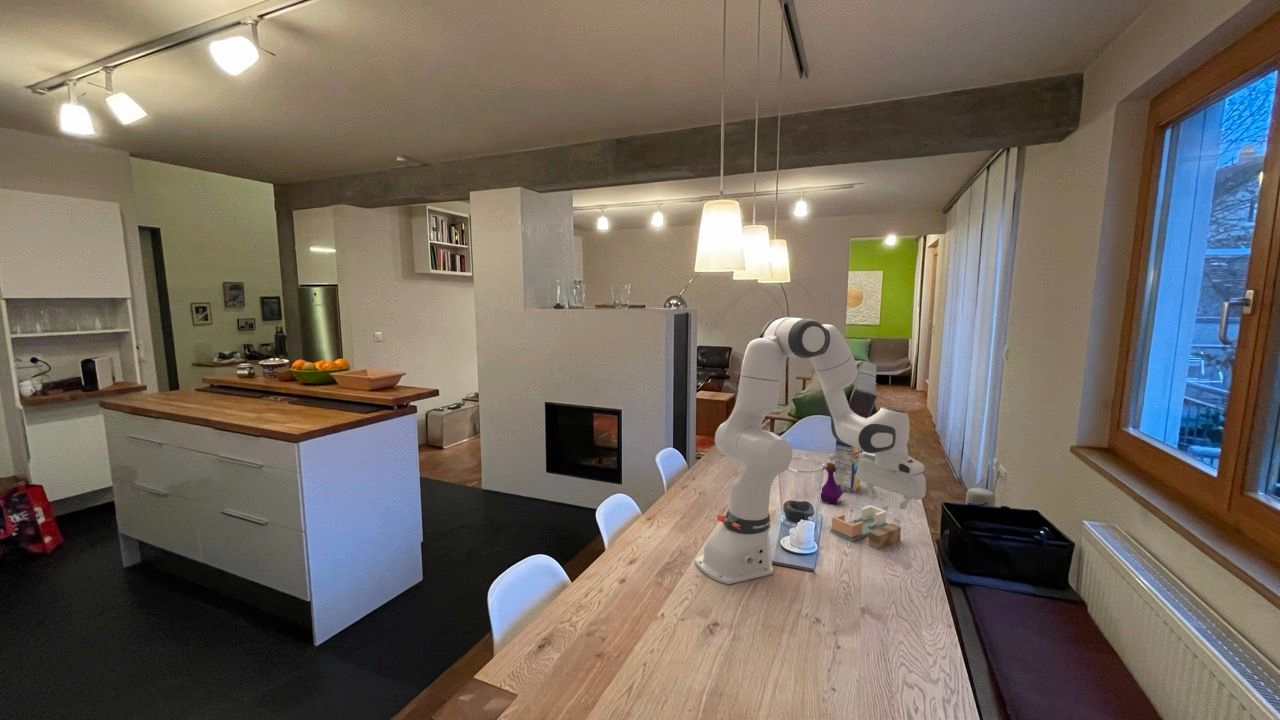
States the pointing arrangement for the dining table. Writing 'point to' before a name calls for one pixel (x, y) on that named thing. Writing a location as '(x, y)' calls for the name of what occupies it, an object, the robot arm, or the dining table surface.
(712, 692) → the dining table surface
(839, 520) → the cap
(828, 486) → the perfume bottle
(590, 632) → the dining table surface
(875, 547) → the brown rectangular block
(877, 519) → the grey slotted holder
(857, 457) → the beverage box
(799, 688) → the dining table surface
